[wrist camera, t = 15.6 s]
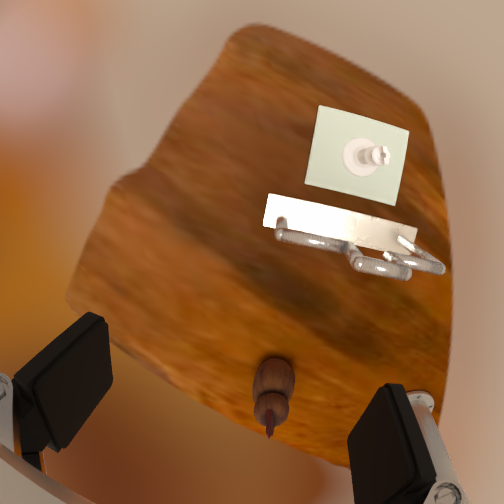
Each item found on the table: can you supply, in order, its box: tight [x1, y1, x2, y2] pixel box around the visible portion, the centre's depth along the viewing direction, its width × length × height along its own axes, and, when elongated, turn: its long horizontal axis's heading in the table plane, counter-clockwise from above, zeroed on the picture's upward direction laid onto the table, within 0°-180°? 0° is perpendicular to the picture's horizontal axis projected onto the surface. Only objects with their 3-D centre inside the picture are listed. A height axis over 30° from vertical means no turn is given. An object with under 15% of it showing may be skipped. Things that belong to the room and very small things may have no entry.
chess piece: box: [341, 137, 391, 177], centre depth 28 cm, size 5×5×10 cm
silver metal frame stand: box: [263, 193, 445, 281], centre depth 28 cm, size 4×20×17 cm, turn 80°
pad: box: [304, 105, 409, 206], centre depth 33 cm, size 10×12×1 cm
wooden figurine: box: [253, 358, 295, 438], centre depth 36 cm, size 7×6×15 cm
